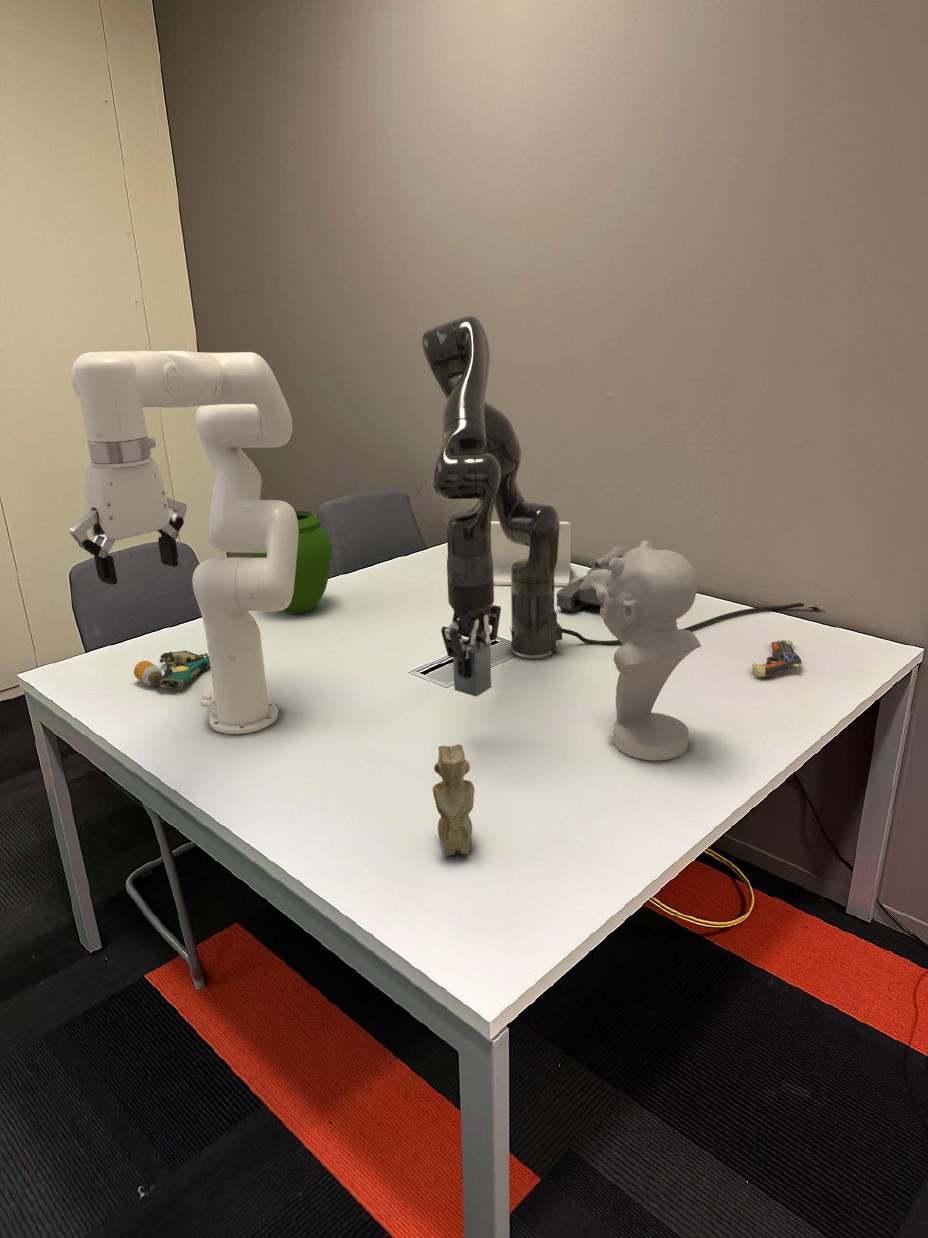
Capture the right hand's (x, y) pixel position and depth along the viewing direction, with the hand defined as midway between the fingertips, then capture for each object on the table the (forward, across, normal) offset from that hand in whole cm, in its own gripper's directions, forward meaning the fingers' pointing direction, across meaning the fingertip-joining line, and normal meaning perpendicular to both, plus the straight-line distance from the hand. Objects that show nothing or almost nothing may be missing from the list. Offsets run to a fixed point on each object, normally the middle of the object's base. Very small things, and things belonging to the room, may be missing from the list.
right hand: (473, 671), depth 145 cm
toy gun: (+15, -63, +31) cm, 72 cm away
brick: (+3, 0, 0) cm, 3 cm away
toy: (+15, -77, -13) cm, 79 cm away
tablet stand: (+15, -85, -46) cm, 97 cm away
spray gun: (+14, +12, -70) cm, 72 cm away
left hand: (-25, +42, -27) cm, 56 cm away
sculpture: (+13, +26, +16) cm, 33 cm away
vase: (+14, -30, -79) cm, 86 cm away
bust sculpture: (+14, -17, +21) cm, 31 cm away
